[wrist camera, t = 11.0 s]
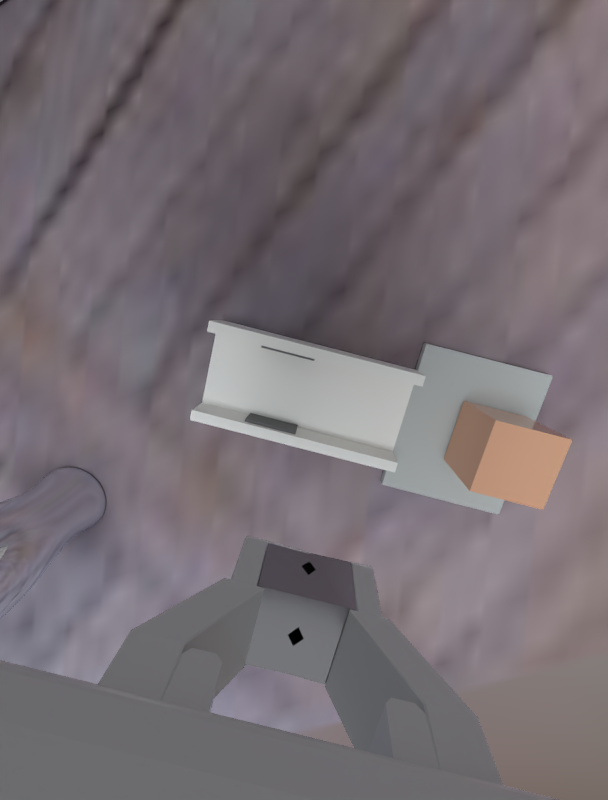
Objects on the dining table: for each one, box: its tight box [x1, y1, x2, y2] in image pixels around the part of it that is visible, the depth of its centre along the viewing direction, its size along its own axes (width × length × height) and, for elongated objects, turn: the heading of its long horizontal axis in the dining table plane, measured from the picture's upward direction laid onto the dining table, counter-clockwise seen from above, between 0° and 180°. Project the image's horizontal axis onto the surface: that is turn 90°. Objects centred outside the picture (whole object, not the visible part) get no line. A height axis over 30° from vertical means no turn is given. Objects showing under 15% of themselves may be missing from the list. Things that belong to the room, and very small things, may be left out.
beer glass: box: [0, 467, 106, 619], centre depth 29 cm, size 7×7×15 cm
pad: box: [381, 343, 553, 515], centre depth 32 cm, size 12×10×1 cm
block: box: [444, 401, 572, 510], centre depth 29 cm, size 5×5×6 cm
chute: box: [190, 320, 426, 473], centre depth 31 cm, size 8×16×4 cm, turn 76°
